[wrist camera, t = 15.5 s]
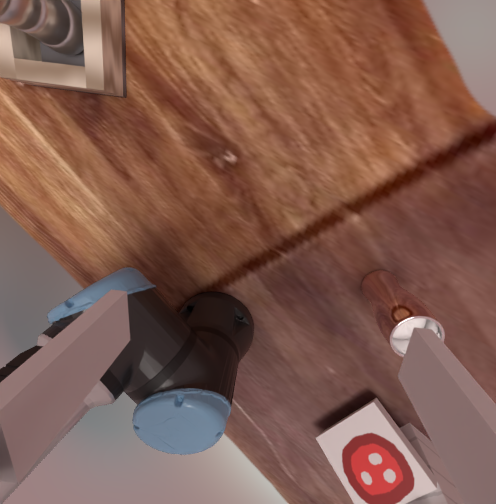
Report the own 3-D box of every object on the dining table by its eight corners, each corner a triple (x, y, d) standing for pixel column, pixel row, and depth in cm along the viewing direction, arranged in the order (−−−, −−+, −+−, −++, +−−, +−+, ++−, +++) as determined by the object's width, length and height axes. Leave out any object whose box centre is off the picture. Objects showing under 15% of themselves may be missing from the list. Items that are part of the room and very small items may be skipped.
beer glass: (351, 295, 52) (378, 350, 38) (369, 262, 49) (404, 307, 35) (388, 308, 52) (428, 367, 38) (407, 275, 49) (458, 325, 35)
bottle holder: (126, 97, 44) (104, 90, 39) (34, 85, 45) (-1, 77, 39) (123, -26, 39) (97, -55, 33) (19, -37, 40) (-23, -67, 34)
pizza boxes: (375, 381, 57) (414, 477, 41) (467, 462, 62) (537, 579, 45) (305, 426, 64) (314, 527, 47) (394, 497, 68) (431, 612, 51)
